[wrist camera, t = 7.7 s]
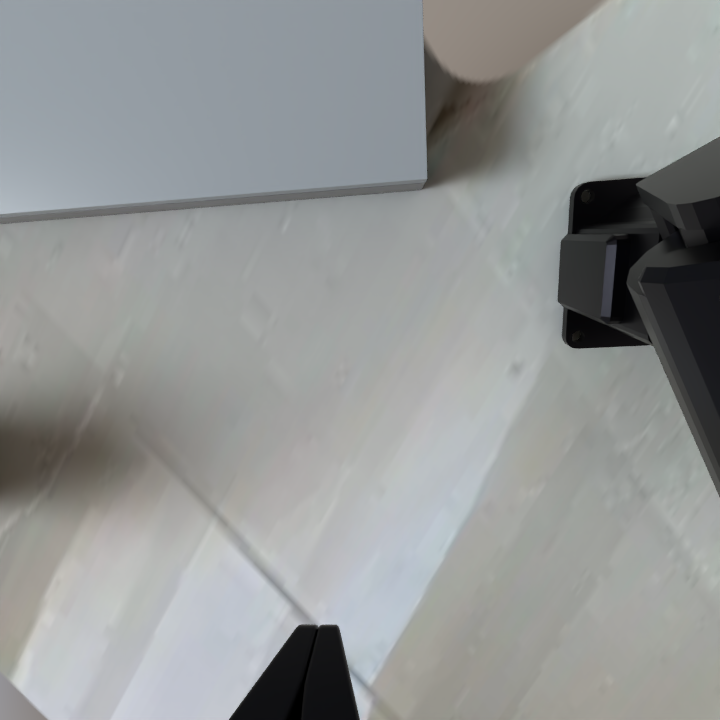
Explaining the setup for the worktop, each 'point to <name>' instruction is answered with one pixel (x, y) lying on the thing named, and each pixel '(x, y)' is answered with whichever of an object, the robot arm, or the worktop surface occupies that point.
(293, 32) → the cover
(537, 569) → the worktop surface
